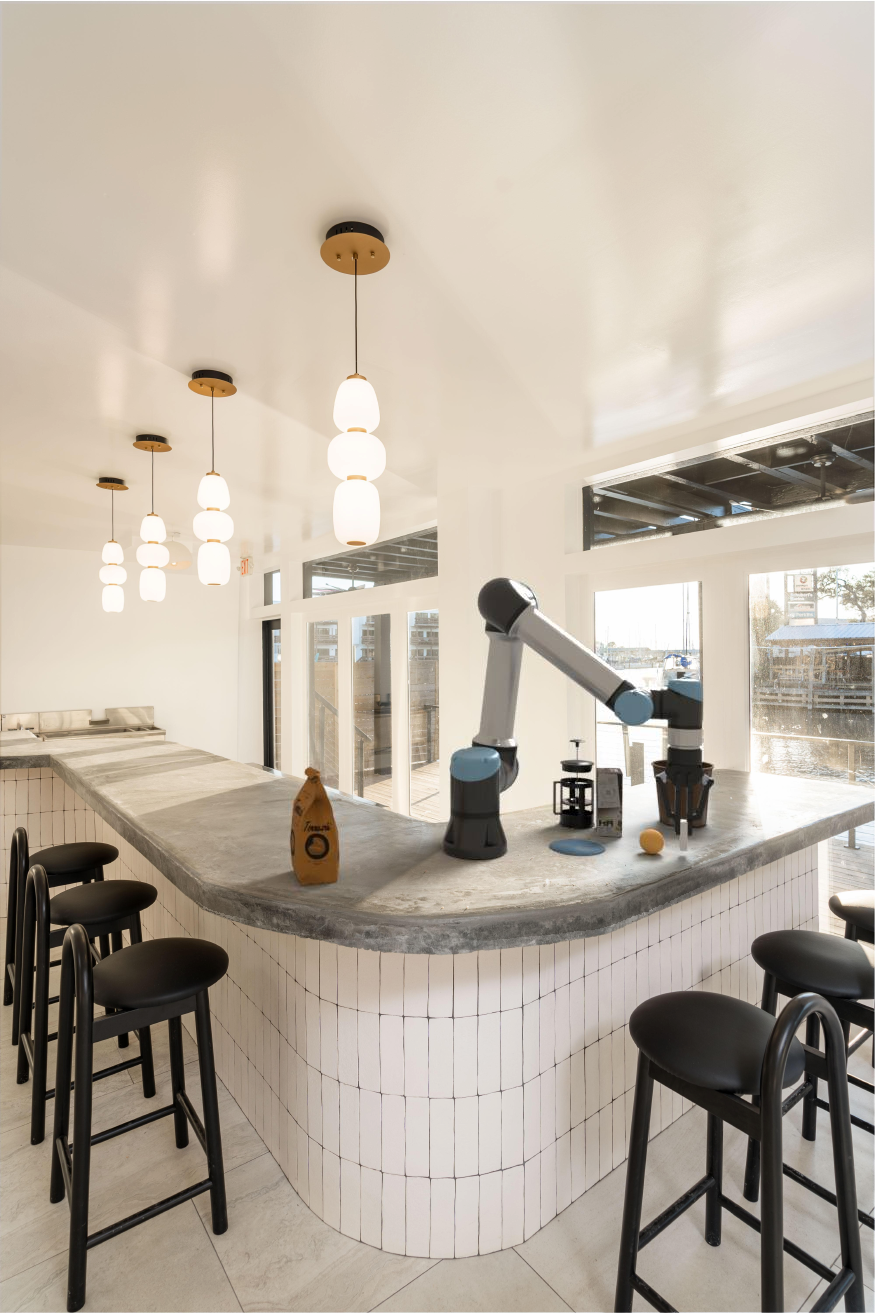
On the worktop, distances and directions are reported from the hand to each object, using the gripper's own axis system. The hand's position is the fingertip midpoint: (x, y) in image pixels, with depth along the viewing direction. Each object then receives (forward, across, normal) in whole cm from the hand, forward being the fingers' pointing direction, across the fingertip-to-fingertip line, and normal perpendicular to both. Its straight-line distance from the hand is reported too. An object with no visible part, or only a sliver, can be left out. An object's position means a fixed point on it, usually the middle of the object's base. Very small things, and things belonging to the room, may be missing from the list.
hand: (683, 849), depth 153 cm
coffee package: (+2, +75, +36) cm, 83 cm away
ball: (-1, +7, 0) cm, 7 cm away
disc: (+2, +24, 0) cm, 24 cm away
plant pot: (+2, -2, -32) cm, 32 cm away
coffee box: (+2, +17, -16) cm, 23 cm away
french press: (+2, +26, -21) cm, 33 cm away
